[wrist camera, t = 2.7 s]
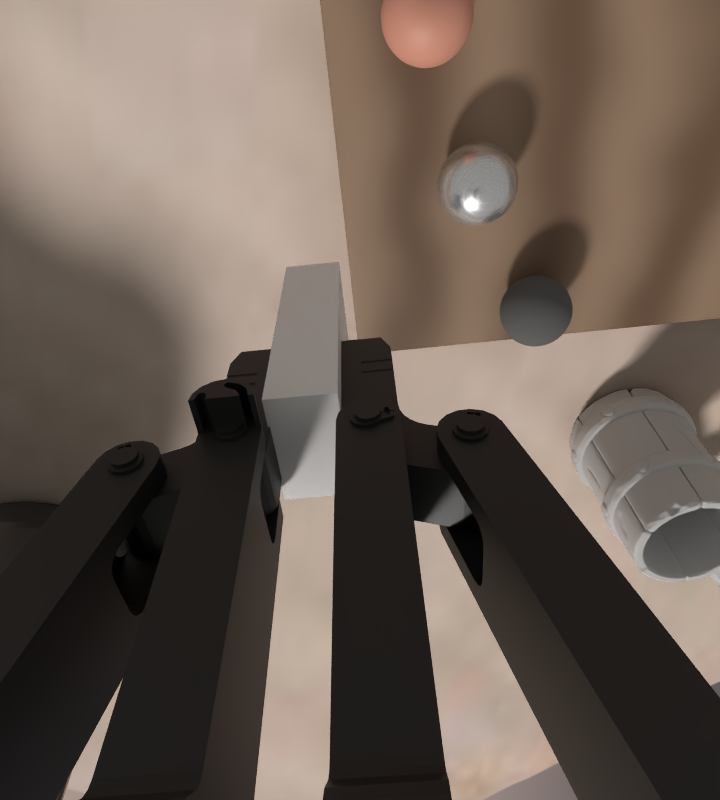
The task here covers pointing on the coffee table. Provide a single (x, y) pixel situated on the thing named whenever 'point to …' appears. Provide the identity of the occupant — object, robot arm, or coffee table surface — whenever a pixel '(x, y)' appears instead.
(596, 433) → the mug
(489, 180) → the steel ball
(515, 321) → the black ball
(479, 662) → the coffee table surface
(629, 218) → the deck
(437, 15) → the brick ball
